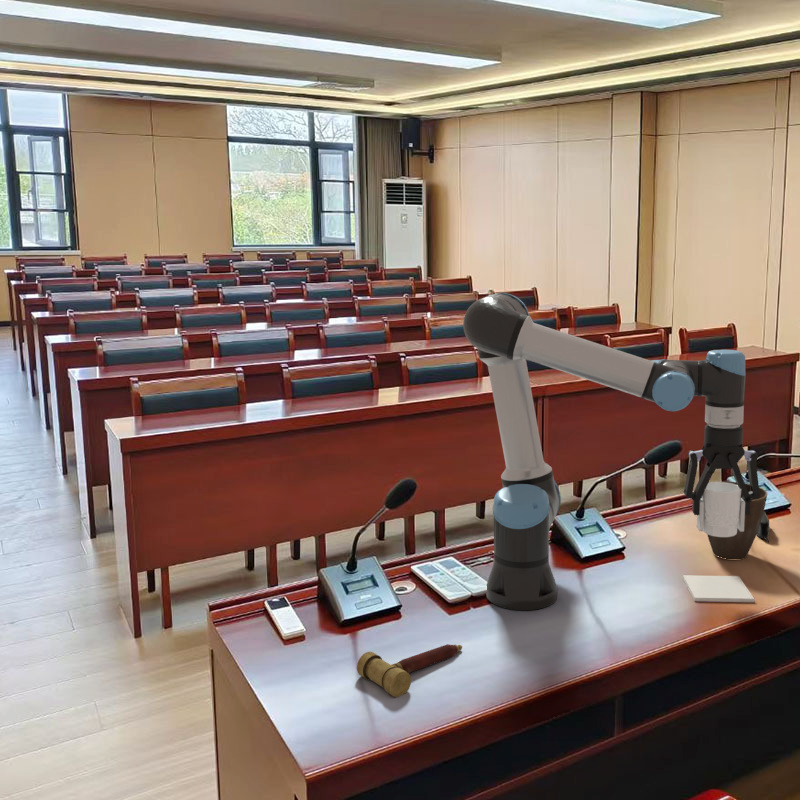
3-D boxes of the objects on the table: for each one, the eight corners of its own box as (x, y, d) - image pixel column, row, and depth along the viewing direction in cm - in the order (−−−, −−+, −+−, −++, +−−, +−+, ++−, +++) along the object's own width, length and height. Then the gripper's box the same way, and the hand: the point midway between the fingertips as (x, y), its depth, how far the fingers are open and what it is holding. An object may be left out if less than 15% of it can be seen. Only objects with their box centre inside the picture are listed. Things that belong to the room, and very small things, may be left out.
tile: (694, 601, 179) (694, 597, 179) (682, 578, 191) (682, 575, 190) (754, 602, 178) (754, 598, 177) (738, 579, 189) (738, 576, 189)
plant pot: (777, 562, 198) (781, 496, 195) (719, 569, 195) (722, 502, 192) (739, 541, 212) (742, 479, 209) (685, 547, 209) (687, 484, 206)
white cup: (733, 526, 185) (735, 481, 183) (744, 538, 177) (746, 492, 175) (696, 526, 186) (697, 481, 184) (705, 538, 178) (707, 492, 176)
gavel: (444, 626, 165) (480, 644, 157) (443, 649, 165) (479, 667, 158) (356, 655, 152) (391, 676, 144) (356, 679, 152) (390, 701, 145)
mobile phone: (750, 505, 225) (760, 523, 210) (763, 506, 224) (773, 523, 210) (750, 524, 225) (759, 542, 211) (762, 524, 225) (772, 542, 210)
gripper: (676, 429, 175) (673, 535, 179) (781, 428, 172) (775, 535, 177) (669, 421, 182) (667, 523, 186) (769, 420, 180) (764, 523, 184)
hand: (720, 529), depth 181 cm, fingers closed on white cup, 8 cm apart
